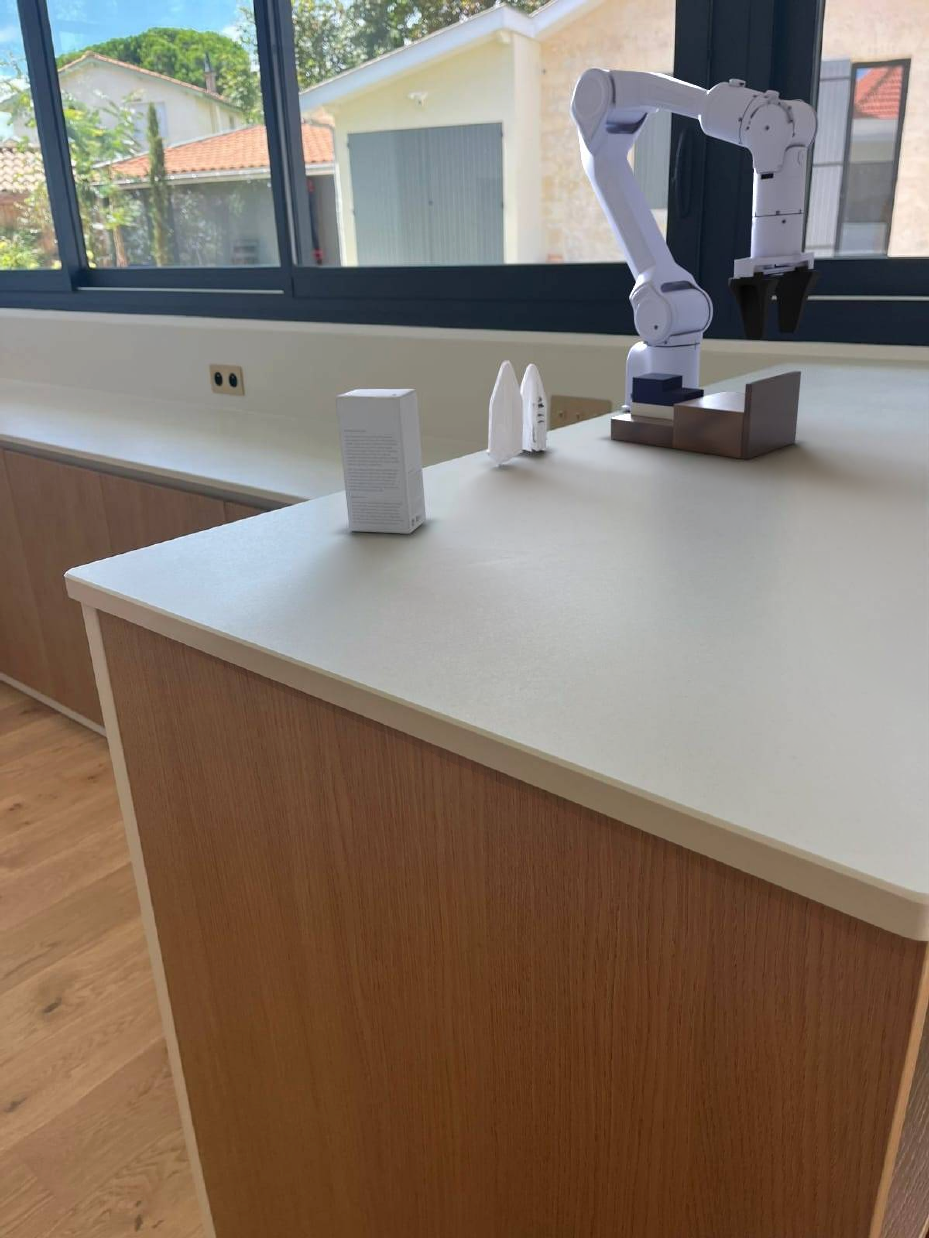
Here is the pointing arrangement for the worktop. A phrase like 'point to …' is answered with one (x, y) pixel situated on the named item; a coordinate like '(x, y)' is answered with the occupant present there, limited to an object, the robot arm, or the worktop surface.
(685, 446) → the step shelf
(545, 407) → the shaker set
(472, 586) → the worktop surface
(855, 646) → the worktop surface
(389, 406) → the cosmetic box
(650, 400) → the navy stepped block
